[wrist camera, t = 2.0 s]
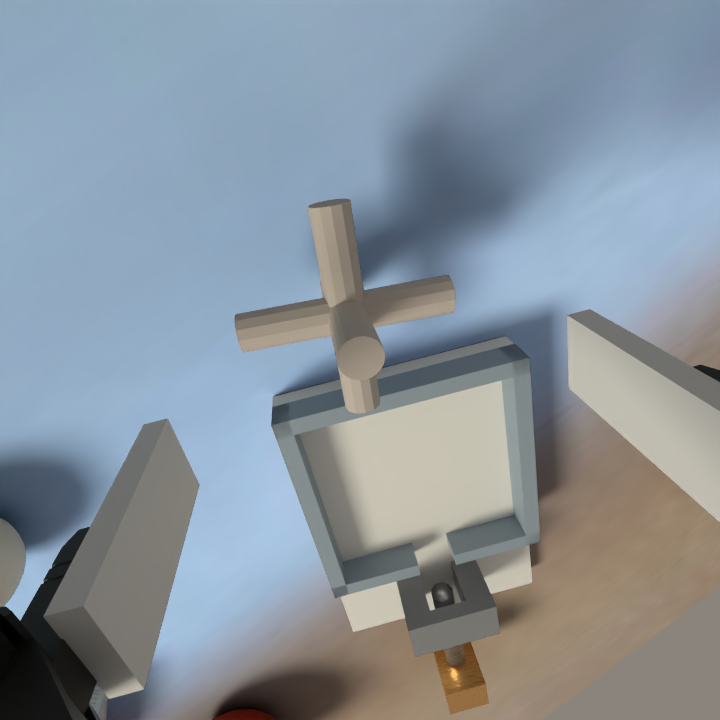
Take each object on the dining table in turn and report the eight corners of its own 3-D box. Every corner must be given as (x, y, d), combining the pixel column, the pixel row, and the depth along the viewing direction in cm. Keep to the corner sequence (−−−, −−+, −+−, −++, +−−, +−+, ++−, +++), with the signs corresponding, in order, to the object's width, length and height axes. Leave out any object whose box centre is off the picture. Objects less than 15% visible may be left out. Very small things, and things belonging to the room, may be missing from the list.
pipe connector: (414, 174, 25) (486, 196, 16) (429, 345, 29) (493, 439, 20) (223, 207, 24) (185, 250, 15) (269, 377, 28) (260, 488, 19)
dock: (272, 396, 29) (269, 451, 24) (505, 336, 29) (550, 377, 24) (351, 618, 39) (361, 689, 34) (525, 570, 39) (559, 633, 34)
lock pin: (415, 576, 37) (430, 628, 33) (454, 565, 37) (474, 616, 33) (435, 659, 42) (450, 714, 38) (470, 649, 42) (488, 703, 38)
